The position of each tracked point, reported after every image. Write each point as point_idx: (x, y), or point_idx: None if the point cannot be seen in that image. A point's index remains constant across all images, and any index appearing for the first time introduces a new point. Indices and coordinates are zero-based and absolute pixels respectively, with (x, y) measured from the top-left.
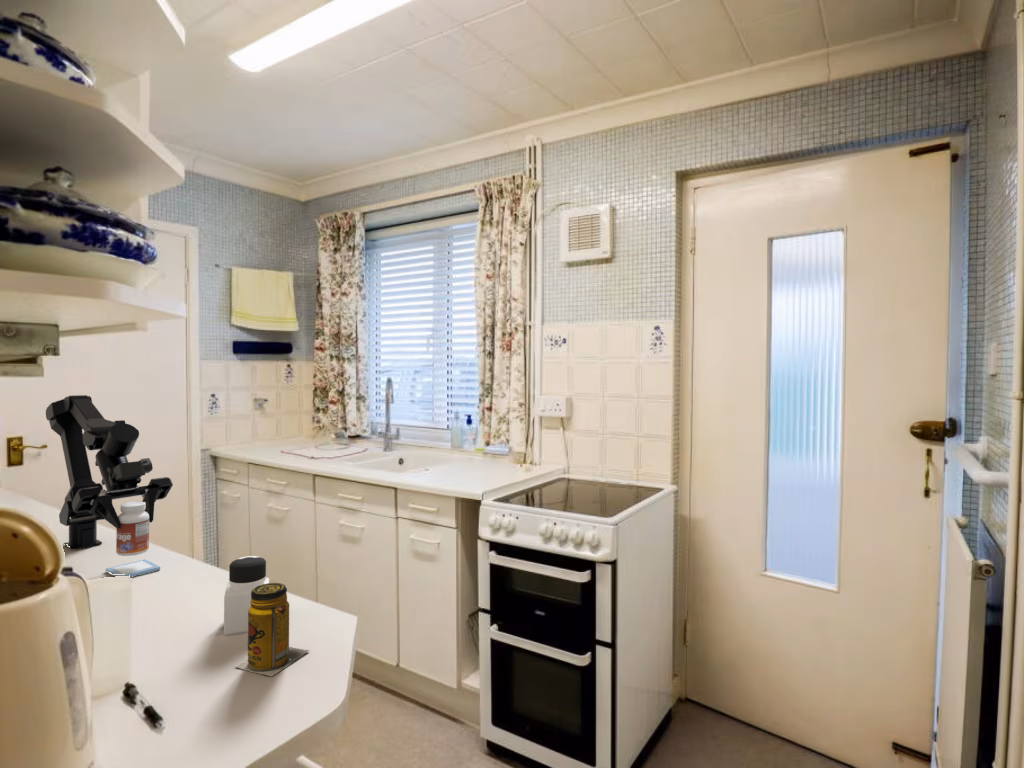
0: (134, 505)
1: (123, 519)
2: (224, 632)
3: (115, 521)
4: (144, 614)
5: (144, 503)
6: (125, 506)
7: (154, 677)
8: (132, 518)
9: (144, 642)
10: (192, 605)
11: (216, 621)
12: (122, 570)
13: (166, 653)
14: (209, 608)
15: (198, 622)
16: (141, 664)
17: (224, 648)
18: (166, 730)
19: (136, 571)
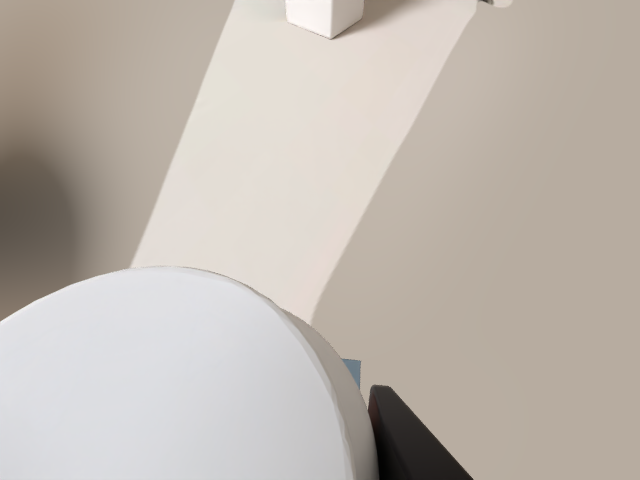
0: (195, 315)
1: (350, 383)
2: (362, 13)
3: (421, 423)
4: (406, 121)
5: (3, 322)
6: (328, 376)
7: (458, 8)
8: (288, 313)
9: (441, 58)
10: (331, 98)
11: (343, 44)
12: None
13: (431, 28)
14: (322, 75)
15: (361, 55)
16: (461, 28)
17: (378, 5)
18: None
19: None
